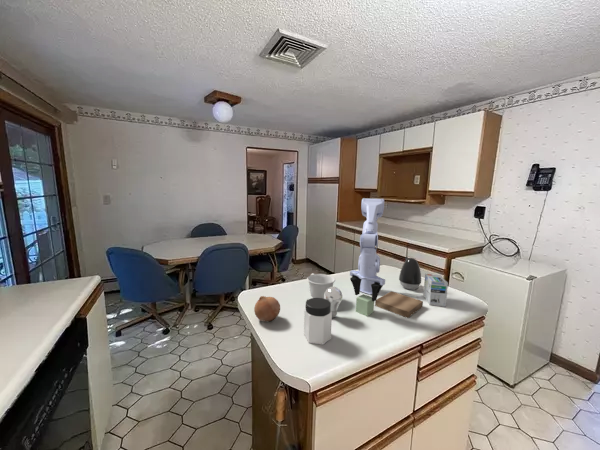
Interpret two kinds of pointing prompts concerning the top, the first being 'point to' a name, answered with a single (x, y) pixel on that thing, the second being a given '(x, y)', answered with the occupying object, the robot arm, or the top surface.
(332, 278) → the teacup
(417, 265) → the black egg-shaped speaker
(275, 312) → the onion
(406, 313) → the walnut base
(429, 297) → the light bulb box
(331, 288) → the light bulb
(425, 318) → the top surface
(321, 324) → the jar
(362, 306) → the green block
